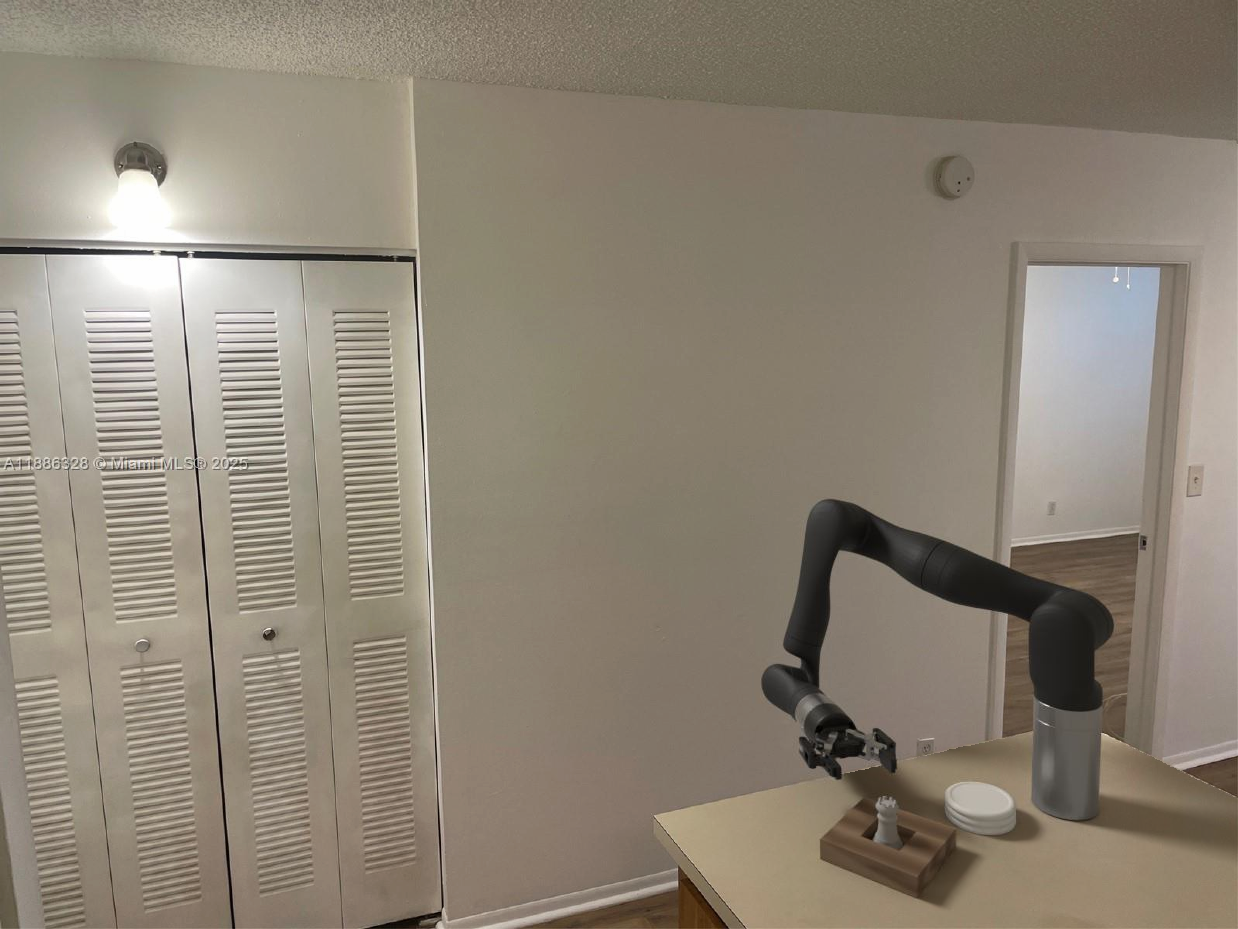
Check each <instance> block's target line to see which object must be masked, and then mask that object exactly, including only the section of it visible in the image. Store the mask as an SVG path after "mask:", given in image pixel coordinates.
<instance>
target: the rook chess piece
mask: <svg viewBox="0 0 1238 929" xmlns="http://www.w3.org/2000/svg"><path fill="white" fill-rule="evenodd" d="M897 802H898V801H897V800H896V799H894V797H892V796H889V799H888V797H887V796H886V795H884V796H882V797H881V796H880V797H878V800H877V803H876V806H875V807H876V809H877V810H878V811H879V813H878V814H877V817H878V819H879V824H878V830H877V832H876V833H875V836H874V837H873V839H872V841H875V842H877V843H880V844H883V845H885V846H888V847H891V848H893V849H896V850H899V851H900V850H901V849H902V848H903V843H902V841H901V839H900V837H899V835H898V832H897V825H896V821H897V820H898V817H897V815H896V813H897V812H898V811H899V809H900V807H899V806H900V805H898V803H897Z"/></svg>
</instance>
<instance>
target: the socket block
mask: <svg viewBox="0 0 1238 929" xmlns="http://www.w3.org/2000/svg"><path fill="white" fill-rule="evenodd" d="M877 802H878V800H874V799H871V798H867V797H866V796H864V797H862V798H861V799H860V800H859V801H858V802H857V803H856V804H855V805H854V806H853V807H851V809H850V810H849V811H848V812H847V813H846V814H845V815H844V816H842V818H840V819H839V820H838V821H837V822H836V823H835V824H834V825H833V826H832V827H831V828H830V829H828V831H827V832H826V833H825V834H823V836H821V837H820V838H819V859H820V860H822V861H824V862H828V863H829V862H830V864H832V865H834V866H837V867H839V866H840V868H841V869H844V870H847V871H849V872H852V873H854V874H857V875H859V876H862V877H864V878H867V879H869V880H871V881H874V882H877V883H879V884H881V885H884V886H886V887H888V888H891V889H893V890H896V891H898V892H900V893H904V894H906V895H908V896H910V897H913V898H916V899H918V898H919V896H920V895H921V894H922V892H923V891H924V890H925V888H926V887H927V886H928V884H929V883H930V882H931V881H932V880H933V878H934V877H935V876H936V874H937V873H938V872H939V870H940V869H941V868H942V866H943V865H944V864H945V863H946V862H947V860H948V859H949V858H950V856H951V855H952V853H953V852H954V851H955V850H956V848H957V828H956V827H953V826H950V825H948V824H947V825H946V824H944V823H942V822H938V821H936V820H933V819H929V818H926V817H924V816H920V815H919V814H915V813H912V812H910V811H906V810H903V809H901V808H899V811H898V812H897V813H896V815H897V817H898V820H897V821H896V825H897V832H898V835H899V837H900V839H901V841H902V843H903V848H902V849H901V850H900V851H899V850H896V849H893V848H891V847H888V846H885V845H883V844H880V843H877V842H875V841H872V839H873V837H874V836H875V833H876V832H877V830H878V824H879V819H878V817H877V814H878V813H879V811H878V810H877V809H876V807H875V806H876V803H877Z"/></svg>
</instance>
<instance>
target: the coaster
mask: <svg viewBox="0 0 1238 929" xmlns="http://www.w3.org/2000/svg"><path fill="white" fill-rule="evenodd" d="M944 798H945V799H944V813H945V815H946V818H947V820H949V822H951V823H952V824H953V825H954V826H956V827H958V828H960V829H962V830H963V831H966V832H968V833H969V832H970V833H973V834H977V835H983V836H998V835H999V836H1000V835H1005V834H1007V833H1009V832H1011V831H1013V829H1014V828H1015V827H1016V824H1017V819H1016V818H1017V803H1016V800H1015V798H1013V797H1012V795H1010V794H1009V793H1008V792H1007V791H1005V790H1004V789H1002V788H1001V787H999V786H995V785H992V784H989V783H986V782H979V781H962V782H957V783H954V784H952V785H950V786H949V787H947V789H945V793H944Z"/></svg>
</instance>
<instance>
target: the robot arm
mask: <svg viewBox="0 0 1238 929" xmlns="http://www.w3.org/2000/svg"><path fill="white" fill-rule="evenodd" d="M808 513H809V514H808V517H807V520H806V524H805V525H806V526H805V530H804V531H805V533H804V541H803V549H802V556H801V563H800V564H801V565H800V571H799V578H798V583H797V589H796V595H795V598H794V603H793V606H792V611H791V614H790V617H789V620H788V623H787V627H786V630H785V634H784V637H783V643H782V647H783V649H784V650H785V651H786V652H787V653H789V654H790V655H792V656H794V657H796V658H798V659H800V667H797V666H793V665H787V664H783V663H773V664H771V665H768V666H767V668H765V670H764V671H763V673H762V674H761V680H760V682H761V690H762V693H763V695H764V697H765V698H766V700H768V701H769V703H770V704H772V705H773V706H775V707H777V709H780V710H781V711H782V712H784V713H786V714H788V715H790V716H791V718H792V719H793V720H794V721H795V722H796V723H797V725H798V727H799V729H800V731H801V732H802V733H803V735H804V736H803V735H802V736H799V737H798V753H799V754H800V756H801V758H802V759H803V761H804V762H805V764H806V766H807V767H808V768H809V769H810V770H815V769H817V767H820V768H821V769H822V770H824V771H825V772H827V774H828V776H830V777H831V778H834V779H835V780H836V781H840V780H842V779H843V777H842V776H843V774H842V766H841V765H840V763H839V762H838V761H837V759H838V758H839V759H840V760H841V759H847V758H859V759H861V760H864V761H871V760H874V761H877V762H879V763H880V765H882V766H883V768H884V769H885V770H886V771H887V772H888V773H889V774H896V770H897V769H898V764H897V763H898V760H897V754H896V753H897V752H896V751H897V742H896V741H895V740H893V739H892V738H891V737H890V736H889V735H887V734H886V733H885V732H884V731H883V730H881V729H880V728H878V727H873V728H872V733H870V732H869V733H865V732H863V731H861V730H859V729H858V728H857V726H856V724H855V723H854V721H853V719H852V718H851V717H850V716H849V715H848V714H847V713H846V712H845V711H844V710H843V709H842V708H841V707H840V706H839V705H838V704H837V703H836V701H834V700H832V699H831V698H830V697H828V696H827V695H826V694H825V693H824V692H823V690H821V689H820V665H821V664H820V663H821V662H820V661H821V653H822V652H821V651H822V647H823V644H824V641H825V638H826V635H827V632H828V629H829V628H828V627H829V622H830V617H831V592H830V591H831V588H830V587H831V577H832V576H831V575H832V571H833V568H834V564H835V562H836V559H837V557H838V553H839V552H840V551H841V552H848V553H852V554H856V555H859V556H863V557H866V558H868V559H871V560H874V561H877V562H878V563H881V564H883V565H885V566H887V567H889V569H891V570H893V571H894V572H895V573H896V574H897V575H899V576H900V577H902V578H903V579H904V580H905V581H907V582H908V583H910V584H911V585H913V586H915V587H916V588H918V589H919V590H920V589H921V591H924V592H926V593H928V594H930V595H933V596H935V597H937V598H940V599H942V600H945V601H947V602H949V603H953V604H955V605H959V606H962V607H963V606H964V607H968V608H973V609H980V610H986V611H992V612H998V613H1002V614H1003V613H1004V614H1007V615H1010V616H1013V617H1016V618H1018V619H1021V620H1023V621H1025V622H1028V623H1029V625H1028V635H1027V636H1028V672H1029V678H1030V680H1031V682H1032V685H1033V707H1032V708H1033V709H1032V710H1033V717H1032V719H1033V720H1032V750H1031V751H1032V752H1031V753H1032V756H1031V759H1032V760H1031V786H1030V787H1031V788H1030V789H1031V793H1030V799H1031V802H1032V804H1033V805H1034V806H1035V807H1036V808H1037V809H1039V810H1040V811H1042V812H1043V813H1045V814H1048V815H1050V816H1053V817H1055V818H1059V819H1063V820H1071V821H1085V820H1089V819H1092V818H1093V819H1094V818H1095V817H1096V816H1097V815H1098V814H1099V804H1100V800H1099V799H1100V783H1101V780H1100V779H1101V778H1100V777H1101V755H1102V754H1101V752H1102V751H1101V749H1102V730H1103V728H1102V725H1103V723H1102V721H1103V702H1104V701H1103V697H1104V696H1103V695H1104V694H1103V692H1104V691H1103V687H1102V685H1101V683H1100V682H1099V681H1097V680H1096V679H1095V657H1096V652H1095V651H1097V650H1099V649H1100V648H1101V647H1102V646H1104V645H1105V644H1106V643H1107V642H1108V641H1109V640H1110V639H1111V637H1112V635H1113V632H1114V629H1115V623H1114V619H1113V616H1112V614H1111V612H1110V610H1109V608H1107V607H1106V605H1105V604H1104V603H1103V602H1101V600H1099V599H1098V598H1097V597H1095V596H1093V595H1091V594H1089V593H1087V592H1085V591H1081V590H1078V589H1074V588H1072V587H1068V586H1064V585H1061V584H1057V583H1054V582H1050V581H1048V580H1045V579H1040V578H1037V577H1034V576H1031V575H1028V574H1026V573H1023V572H1020V571H1018V570H1015V568H1014V569H1013V568H1011V567H1009V566H1006V565H1005V564H1002V563H999V562H998V561H996V560H992V559H990V558H987V557H985V556H983V555H980V554H978V553H976V552H973V551H970V550H969V549H966V548H964V547H962V546H959V545H956V544H954V543H951V542H950V541H946V540H944V539H941V538H938V537H935V536H932V535H929V534H925V533H923V532H919V531H915V530H911V529H907V528H904V527H900V526H899V525H895V524H894V523H891V522H889V521H887V520H885V519H883V518H882V517H880V516H878V515H876V514H874V513H873V512H870V511H869V510H867V509H865V508H864V507H862V506H861V505H858V504H855V503H853V502H850V501H845V500H840V499H835V498H825V499H822V500H820V501H818V502H817V503H816V504H815V505H813V507H812V508H811V509H810V512H808ZM864 749H865V752H864ZM875 750H878V753H876V752H875ZM817 752H819V753H817Z"/></svg>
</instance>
